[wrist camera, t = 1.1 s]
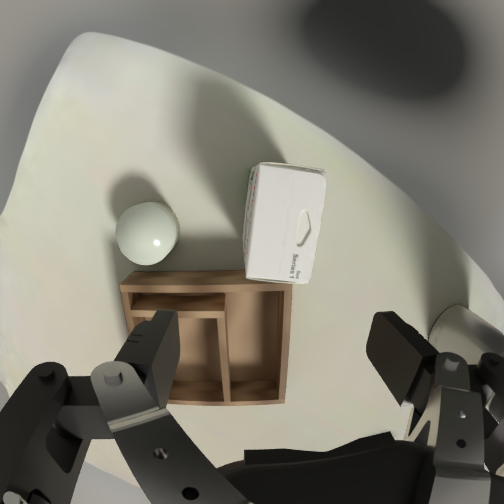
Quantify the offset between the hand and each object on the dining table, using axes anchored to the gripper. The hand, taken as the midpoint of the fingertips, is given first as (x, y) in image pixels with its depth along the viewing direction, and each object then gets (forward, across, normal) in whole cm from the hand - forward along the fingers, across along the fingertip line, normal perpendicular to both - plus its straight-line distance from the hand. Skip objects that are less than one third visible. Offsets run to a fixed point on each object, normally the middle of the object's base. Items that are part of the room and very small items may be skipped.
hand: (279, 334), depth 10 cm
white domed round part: (+21, +11, 0) cm, 24 cm away
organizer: (+21, +5, +13) cm, 25 cm away
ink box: (+21, -2, -3) cm, 21 cm away
